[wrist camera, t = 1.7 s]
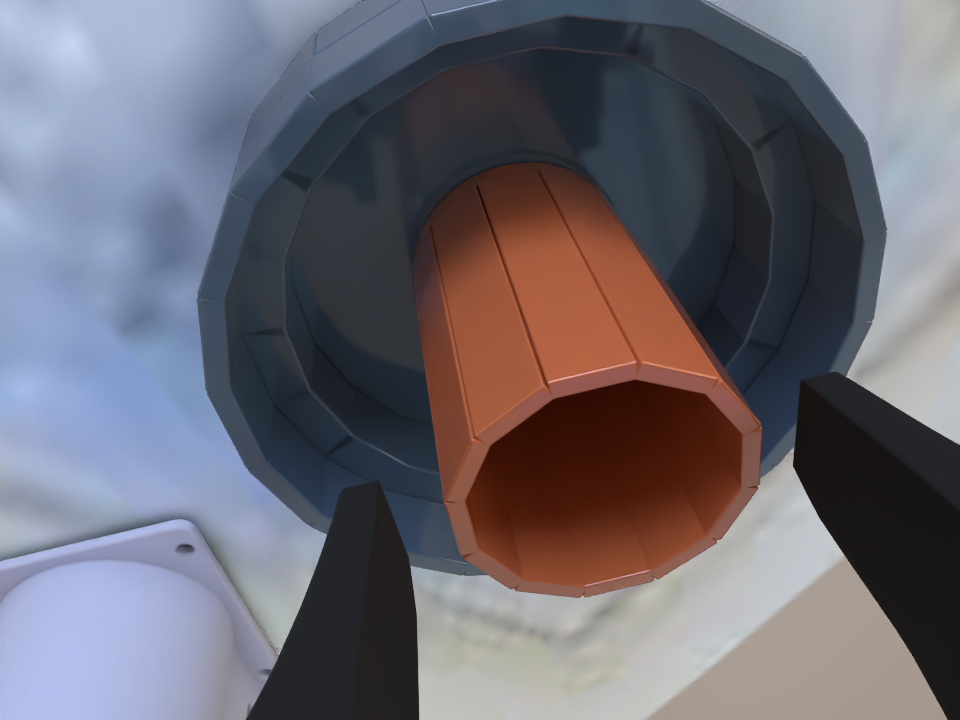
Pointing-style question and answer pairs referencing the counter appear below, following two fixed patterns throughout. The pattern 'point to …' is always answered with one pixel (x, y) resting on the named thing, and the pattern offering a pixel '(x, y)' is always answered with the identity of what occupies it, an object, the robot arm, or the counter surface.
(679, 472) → the cup
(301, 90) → the bowl
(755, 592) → the counter surface
